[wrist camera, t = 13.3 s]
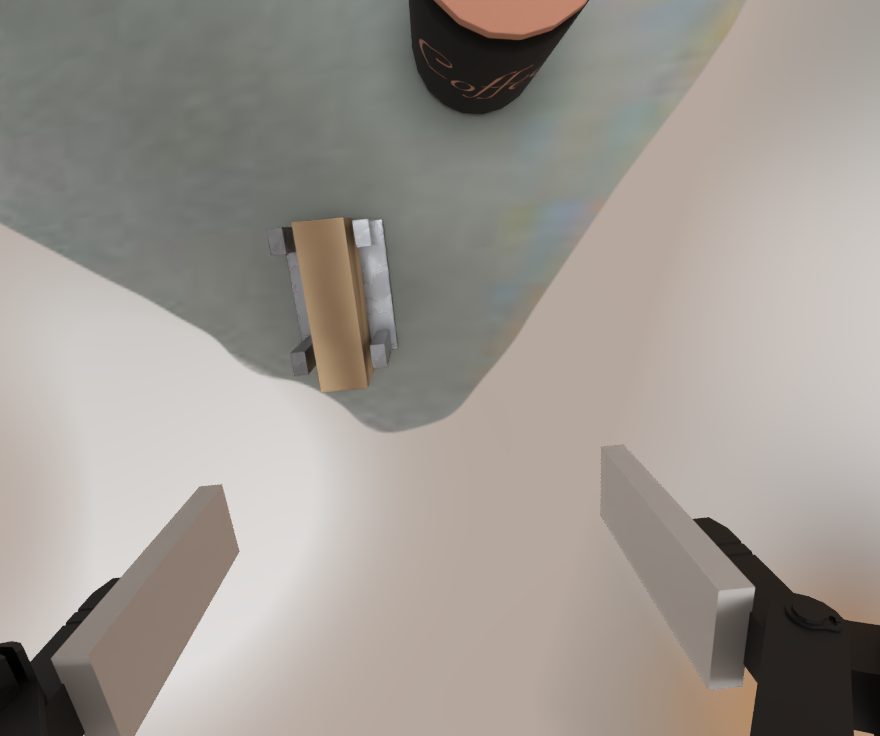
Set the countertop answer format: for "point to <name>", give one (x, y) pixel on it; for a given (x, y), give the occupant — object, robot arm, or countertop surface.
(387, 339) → the bracket
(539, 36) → the coffee jar
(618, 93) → the countertop surface
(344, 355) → the block
